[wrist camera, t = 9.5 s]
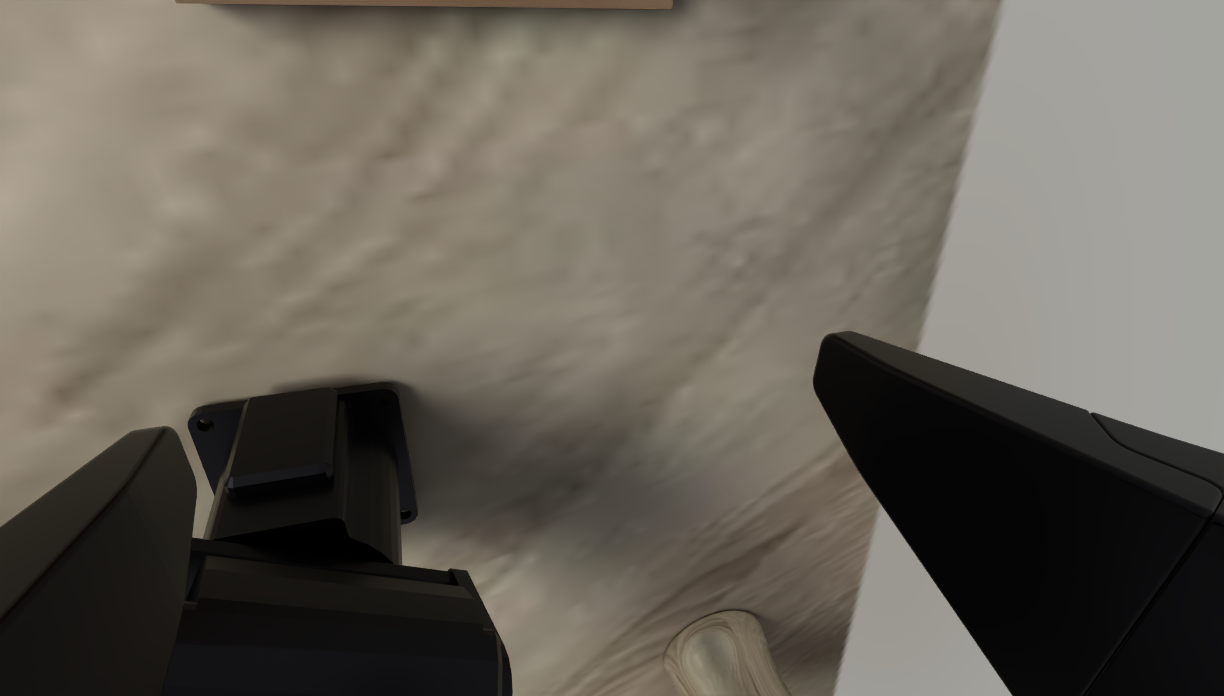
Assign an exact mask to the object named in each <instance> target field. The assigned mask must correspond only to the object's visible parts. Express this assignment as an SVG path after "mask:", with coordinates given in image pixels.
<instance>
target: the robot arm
mask: <svg viewBox="0 0 1224 696" xmlns="http://www.w3.org/2000/svg"><path fill="white" fill-rule="evenodd" d="M813 386H814V390H815V393H816V395H817V397H818V399H819V401H820V403H821V404H822V406H823V408H824V410H825V412H826V414H827V415H828V417H829V419H830V421H831V423H832V425H833V426H834V428H835V430H836V432H837V434H838V436H839V437H840V439H841V441H842V443H843V445H844V447H845V448H846V450H847V452H848V454H849V456H850V458H851V459H852V461H853V463H854V464H855V466H856V468H857V470H858V471H859V473H860V474H861V476H862V477H863V479H864V480H865V482H866V483H867V485H868V486H869V488H870V489H871V491H872V492H873V494H874V495H875V496H876V498H877V499H878V501H879V502H880V504H881V505H882V507H883V508H884V510H885V511H886V512H887V514H888V515H889V517H890V518H891V520H892V521H893V522H894V524H895V526H896V527H897V528H898V530H899V531H900V533H901V534H902V536H903V537H904V539H905V540H906V542H907V543H908V544H909V546H910V547H911V549H912V550H913V552H914V553H915V555H916V556H917V557H918V559H919V560H920V562H921V563H922V565H923V566H924V568H925V569H926V571H927V572H928V573H929V575H930V576H931V578H932V579H933V581H934V582H935V584H936V585H937V587H938V588H939V589H940V591H941V592H942V594H943V595H944V597H945V598H946V600H947V601H948V602H949V604H950V606H951V607H952V608H953V610H954V611H955V613H956V614H957V616H958V617H959V619H960V620H961V622H962V623H963V624H964V626H965V627H966V629H967V630H968V632H969V633H970V635H971V636H972V637H973V639H974V640H975V642H976V643H977V645H978V646H979V648H980V649H981V651H982V652H983V654H984V655H985V656H986V658H987V659H988V661H989V662H990V664H991V665H992V667H993V668H994V670H995V671H996V672H997V674H998V675H999V677H1000V678H1001V680H1002V681H1003V682H1004V684H1005V686H1006V687H1007V688H1008V690H1009V691H1010V693H1011V694H1012V696H1224V454H1223V453H1220V452H1217V451H1213V450H1210V449H1207V448H1203V447H1200V446H1197V445H1193V444H1190V443H1187V442H1184V441H1181V440H1177V439H1174V438H1171V437H1167V436H1164V435H1161V434H1158V433H1155V432H1152V431H1148V430H1146V429H1142V428H1139V427H1136V426H1133V425H1130V424H1127V423H1124V422H1121V421H1118V420H1115V419H1112V418H1109V417H1106V416H1103V415H1100V414H1097V413H1089V412H1088V411H1087V410H1085V409H1082V408H1079V407H1076V406H1073V405H1070V404H1067V403H1064V402H1061V401H1058V400H1055V399H1052V398H1049V397H1046V396H1043V395H1040V394H1037V393H1034V392H1031V391H1028V390H1025V389H1022V388H1019V387H1016V386H1013V385H1010V384H1007V383H1005V382H1001V381H999V380H996V379H992V378H990V377H987V376H983V375H981V374H978V373H975V372H972V371H969V370H966V369H963V368H960V367H957V366H954V365H951V364H948V363H945V362H942V361H939V360H936V359H933V358H930V357H927V356H924V355H921V354H918V353H915V352H912V351H909V350H906V349H903V348H900V347H897V346H894V345H892V344H889V343H886V342H883V341H880V340H877V339H874V338H871V337H868V336H865V335H862V334H859V333H856V332H852V331H844V332H838V333H831V334H828V335H826V336H825V337H824V338H823V340H822V342H821V346H820V350H819V354H818V359H817V363H816V367H815V371H814V376H813ZM380 395H388V396H390V398H389V399H386V400H380V399H378V398H377V397H378V396H380ZM202 419H208V420H211V421H212V422H213V424H204V423H202V422H201V421H200V420H202ZM188 429H189V431H190V434H191V437H192V439H193V442H194V444H195V447H196V450H197V452H198V455H199V457H200V460H201V462H202V465H203V468H204V470H205V473H206V475H207V478H208V481H209V483H210V486H211V488H212V491H213V493H214V496H215V497H214V501H213V504H212V508H211V511H210V515H209V518H208V522H207V526H206V529H205V533H204V536H203V539H200V538H192V532H193V524H194V515H195V506H196V498H197V486H196V480H195V476H194V473H193V471H192V468H191V466H190V463H189V461H188V459H187V456H186V454H185V451H184V449H183V446H182V444H181V441H180V439H179V436H178V434H177V433H176V432H175V430H174V429H173V428H171V427H169V426H162V427H155V428H147V429H140V430H134V431H131V432H129V433H128V434H126V435H125V436H124V437H122V438H121V439H120V440H118V441H117V442H115V443H114V444H113V445H111V446H110V447H109V448H107V449H106V450H105V451H103V452H102V453H100V454H99V455H98V456H96V457H95V458H94V459H92V460H91V461H90V462H88V463H87V464H85V465H84V466H83V467H81V468H80V469H79V470H77V471H76V472H75V473H73V474H72V475H71V476H69V477H68V478H66V479H65V480H64V481H62V482H61V483H60V484H58V485H57V486H56V487H54V488H53V489H51V490H50V491H49V492H47V493H46V494H45V495H43V496H42V497H41V498H39V499H38V500H36V501H35V502H34V503H32V504H31V505H30V506H28V507H27V508H26V509H24V510H23V511H21V512H20V513H19V514H17V515H16V516H15V517H13V518H12V519H11V520H9V521H8V522H6V523H5V524H4V525H2V526H1V527H0V696H512V674H511V668H510V662H509V657H508V654H507V652H506V649H505V646H504V644H503V642H502V640H501V638H500V636H499V634H498V632H497V630H496V628H495V626H494V624H493V622H492V620H491V618H490V616H489V614H488V612H487V610H486V608H485V606H484V604H483V602H482V600H481V598H480V596H479V594H478V592H477V590H476V588H475V586H474V584H473V582H472V580H471V578H470V576H469V573H468V572H467V571H466V570H459V569H452V568H451V569H449V570H448V571H441V570H433V569H426V568H418V567H411V566H403V565H402V546H401V525H402V524H407V523H410V522H412V521H413V520H415V519H416V517H417V515H418V507H417V500H416V494H415V488H414V482H413V476H412V470H411V464H410V458H409V452H408V446H407V440H406V434H405V428H404V422H403V416H402V410H401V404H400V398H399V392H398V390H397V388H396V387H395V386H394V385H393V384H390V383H388V382H380V383H373V384H365V385H358V386H350V387H342V388H335V389H331V388H320V389H313V390H305V391H298V392H290V393H282V394H275V395H267V396H260V397H253V398H250V399H249V400H244V401H237V402H229V403H222V404H214V405H207V406H201V407H198V408H196V409H195V410H194V411H193V412H192V414H191V416H190V418H189V421H188ZM402 510H409V511H407V512H400V511H402Z"/></svg>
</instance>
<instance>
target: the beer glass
mask: <svg viewBox="0 0 1224 696" xmlns="http://www.w3.org/2000/svg"><path fill="white" fill-rule="evenodd" d="M664 668H665V671H666V673H667V675H668V677H669V679H670V680H671V682H672V684H673V685H674V687H675V688H676V690H677V692H678V693H679V695H680V696H792V694H791V693H790V691H789V690H788V688H787V686H786V685H785V683H784V681H783V680H782V678H781V676H780V674H779V672H778V670H777V668H776V666H775V663H774V661H773V658H772V655H771V652H770V649H769V646H768V643H767V640H766V637H765V635H764V632H763V629H762V627H761V625H760V623H759V621H758V620H757V619H756V618H755V617H754V616H753V615H752V614H750V613H747V612H743V611H723V612H719V613H715V614H712V615H709V616H707V617H704V618H702V619H700V620H698V621H696V622H694V623H693V624H691V625H690V626H688V627H687V628H685V629H684V630H683V631H682V632H680V633H679V634H678V635H677V636H676V637H675V638H674V640H673V641H672V642H671V643H670V645H669V647H668V648H667V650H666V653H665V656H664Z"/></svg>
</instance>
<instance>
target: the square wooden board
mask: <svg viewBox="0 0 1224 696" xmlns="http://www.w3.org/2000/svg"><path fill="white" fill-rule="evenodd" d="M176 3H200V4H285V5H370V6H455V7H540V8H625V9H672V5H673V0H176Z"/></svg>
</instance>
